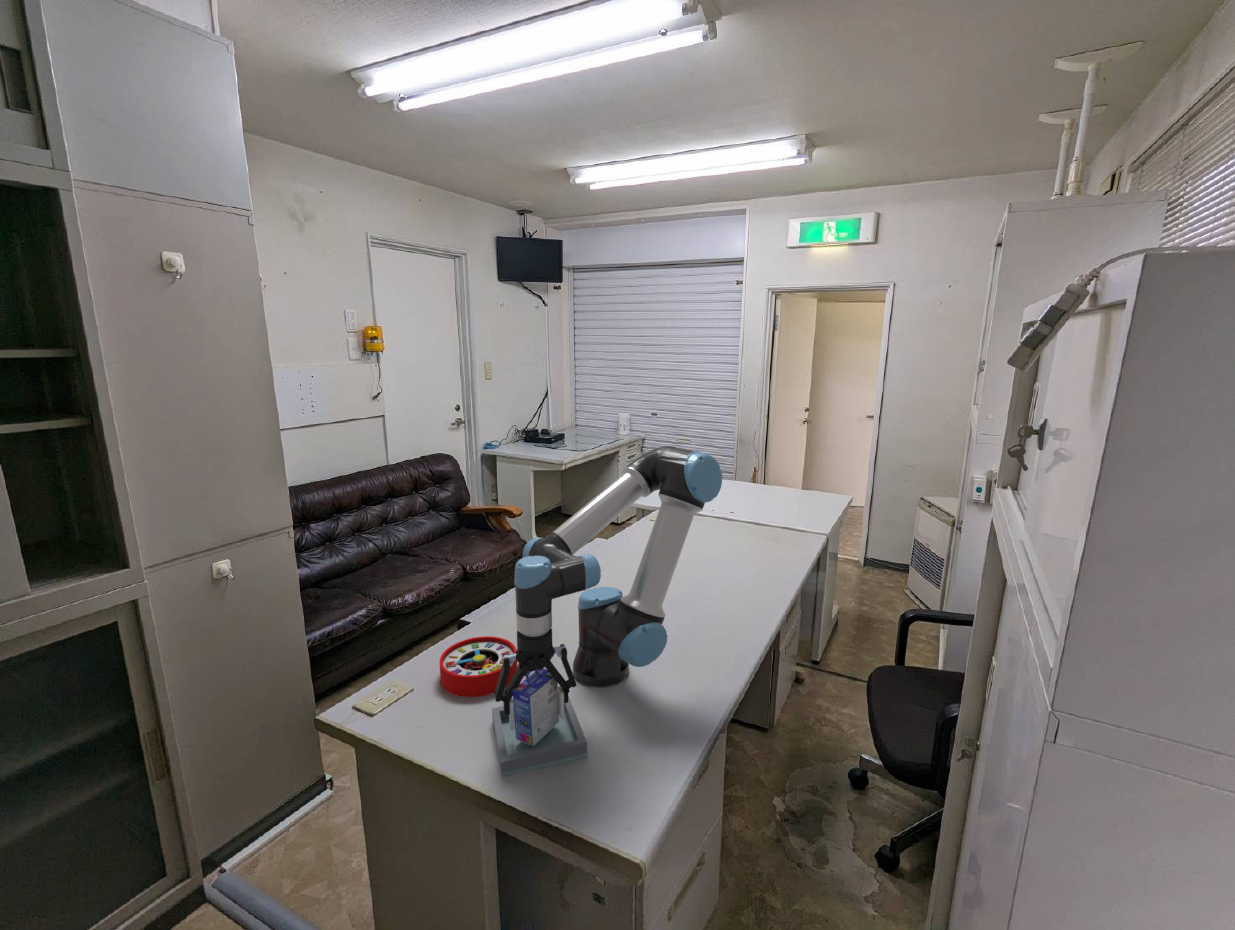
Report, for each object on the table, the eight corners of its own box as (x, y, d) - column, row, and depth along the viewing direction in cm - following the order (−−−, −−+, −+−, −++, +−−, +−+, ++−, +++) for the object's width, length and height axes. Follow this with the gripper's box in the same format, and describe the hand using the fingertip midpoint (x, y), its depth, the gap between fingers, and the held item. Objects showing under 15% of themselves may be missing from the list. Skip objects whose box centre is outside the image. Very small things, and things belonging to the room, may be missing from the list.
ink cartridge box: (540, 713, 127) (539, 656, 124) (560, 721, 124) (559, 663, 121) (513, 739, 119) (510, 678, 116) (533, 748, 116) (531, 686, 113)
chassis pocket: (567, 706, 133) (567, 693, 132) (587, 757, 116) (587, 742, 116) (492, 721, 127) (491, 708, 127) (501, 777, 111) (501, 762, 110)
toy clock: (523, 667, 140) (442, 684, 133) (524, 687, 141) (443, 705, 134) (509, 631, 158) (436, 644, 151) (510, 649, 159) (438, 663, 152)
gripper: (581, 613, 124) (582, 700, 128) (478, 628, 117) (482, 720, 121) (590, 628, 117) (591, 720, 121) (480, 645, 110) (485, 742, 114)
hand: (537, 720), depth 121 cm, fingers closed on ink cartridge box, 10 cm apart
